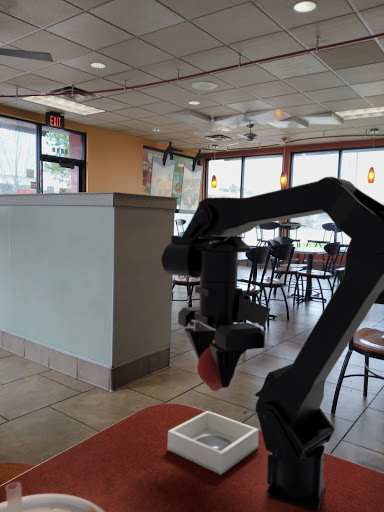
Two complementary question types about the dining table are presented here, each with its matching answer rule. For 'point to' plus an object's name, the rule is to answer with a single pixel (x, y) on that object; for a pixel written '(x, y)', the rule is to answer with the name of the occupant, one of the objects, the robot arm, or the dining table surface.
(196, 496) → the dining table surface
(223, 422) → the tray
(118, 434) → the dining table surface
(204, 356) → the onion
